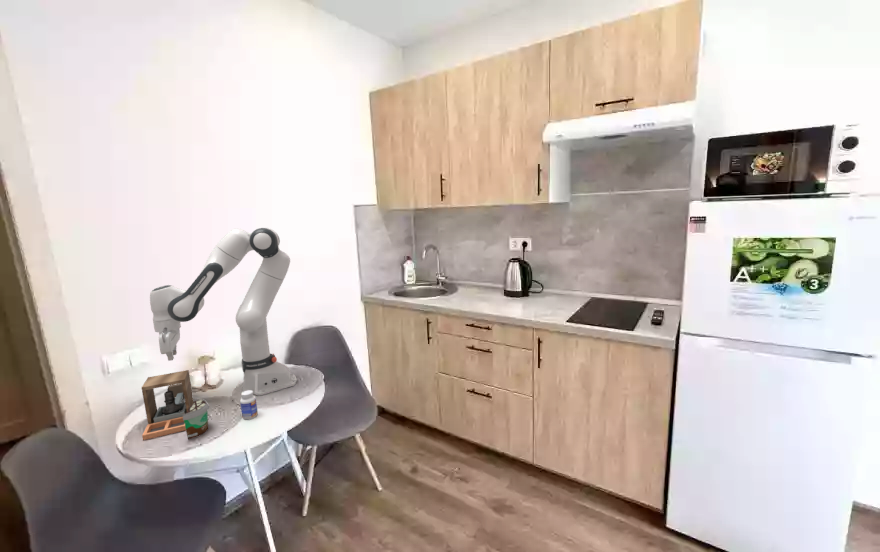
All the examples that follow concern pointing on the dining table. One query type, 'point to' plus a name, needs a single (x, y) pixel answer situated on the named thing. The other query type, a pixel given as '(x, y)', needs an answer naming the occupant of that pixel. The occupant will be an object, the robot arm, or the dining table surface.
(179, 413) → the grey piece
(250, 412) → the pill bottle
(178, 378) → the tunnel
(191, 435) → the food container
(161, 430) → the orange flat frame
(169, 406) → the dark grey upright piece
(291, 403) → the dining table surface
